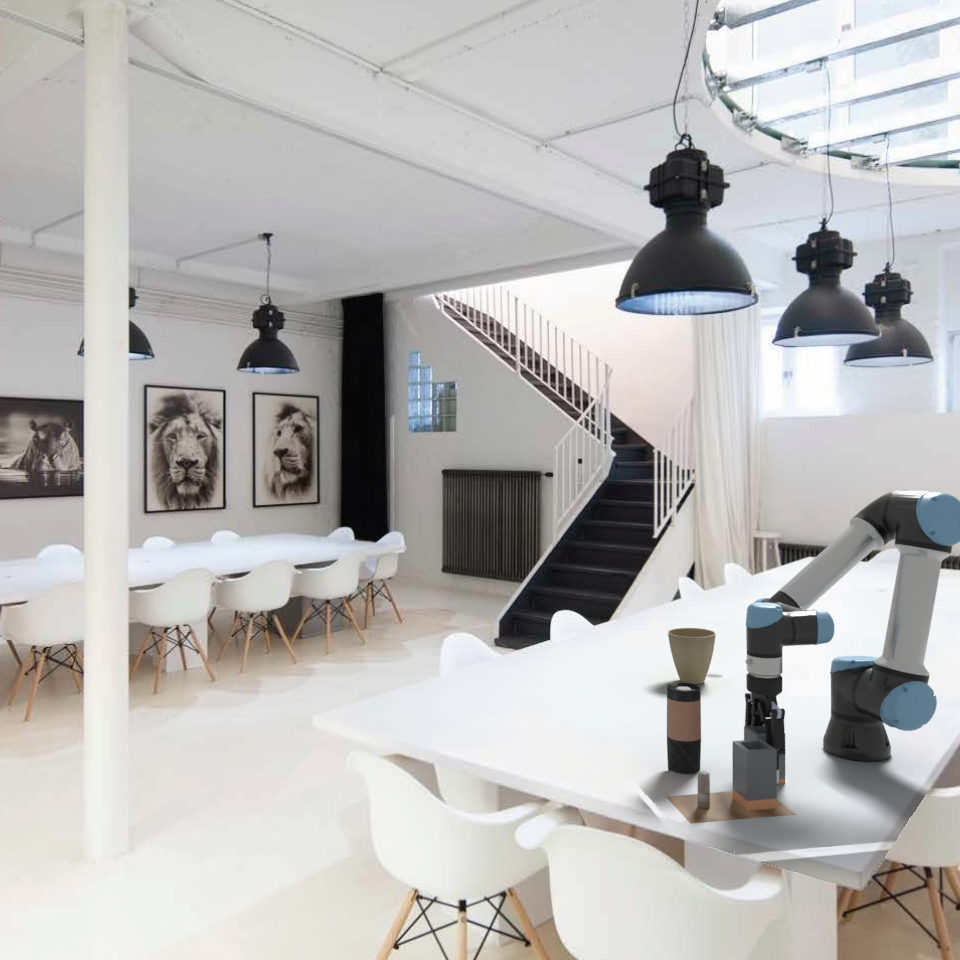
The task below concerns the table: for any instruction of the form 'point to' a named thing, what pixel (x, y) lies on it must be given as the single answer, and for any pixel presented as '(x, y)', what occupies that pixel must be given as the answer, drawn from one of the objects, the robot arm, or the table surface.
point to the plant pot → (692, 653)
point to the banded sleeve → (759, 733)
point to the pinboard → (718, 805)
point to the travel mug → (684, 728)
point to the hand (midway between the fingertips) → (764, 777)
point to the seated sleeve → (754, 774)
